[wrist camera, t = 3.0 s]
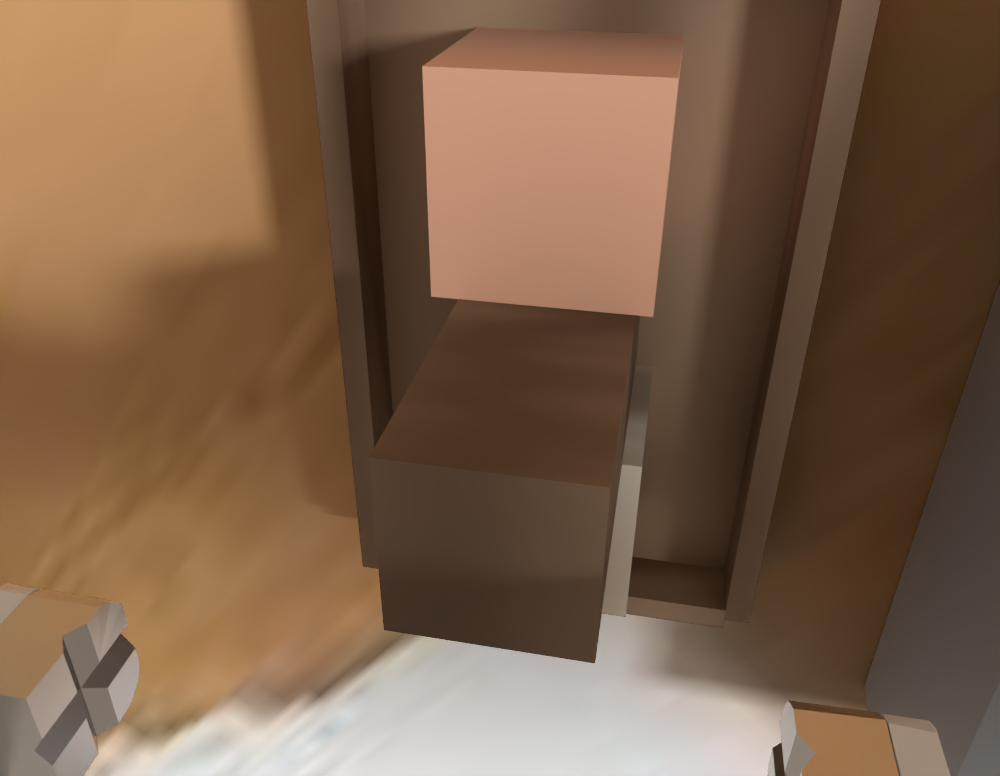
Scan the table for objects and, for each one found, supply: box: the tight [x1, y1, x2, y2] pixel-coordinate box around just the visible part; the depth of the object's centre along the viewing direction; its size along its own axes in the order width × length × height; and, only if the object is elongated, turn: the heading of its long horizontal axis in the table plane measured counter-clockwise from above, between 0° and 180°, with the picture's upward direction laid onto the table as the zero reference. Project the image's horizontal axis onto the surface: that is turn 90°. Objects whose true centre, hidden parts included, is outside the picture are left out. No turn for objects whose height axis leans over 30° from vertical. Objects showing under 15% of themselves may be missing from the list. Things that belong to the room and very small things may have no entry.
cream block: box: [602, 365, 653, 617], centre depth 20 cm, size 4×4×4 cm
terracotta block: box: [422, 27, 684, 317], centre depth 16 cm, size 4×4×4 cm
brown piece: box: [306, 0, 881, 663], centre depth 17 cm, size 10×16×10 cm, turn 0°
